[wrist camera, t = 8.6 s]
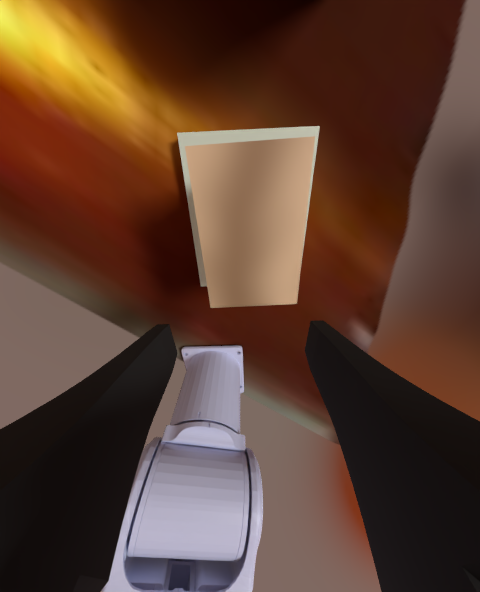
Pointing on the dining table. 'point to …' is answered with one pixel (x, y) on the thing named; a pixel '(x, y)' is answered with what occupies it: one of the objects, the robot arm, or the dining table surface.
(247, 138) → the board
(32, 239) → the dining table surface
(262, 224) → the stool
